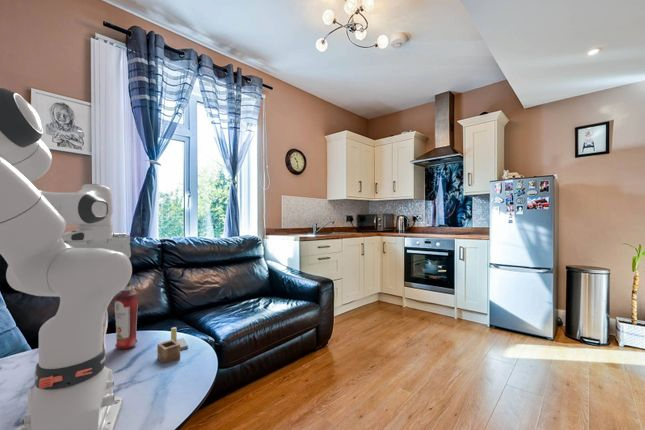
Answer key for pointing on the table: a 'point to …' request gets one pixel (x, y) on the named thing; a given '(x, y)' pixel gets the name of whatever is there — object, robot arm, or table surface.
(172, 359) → the collar
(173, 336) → the post stand
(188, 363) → the table surface
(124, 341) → the liquor
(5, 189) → the robot arm
